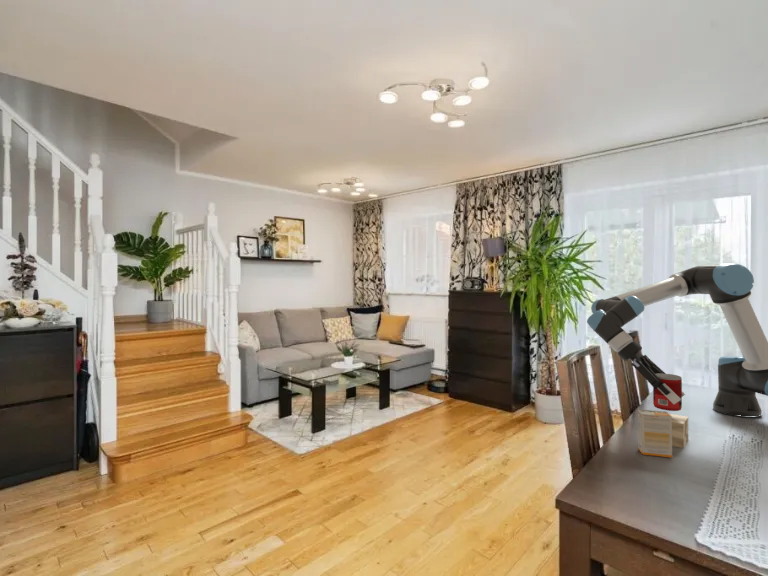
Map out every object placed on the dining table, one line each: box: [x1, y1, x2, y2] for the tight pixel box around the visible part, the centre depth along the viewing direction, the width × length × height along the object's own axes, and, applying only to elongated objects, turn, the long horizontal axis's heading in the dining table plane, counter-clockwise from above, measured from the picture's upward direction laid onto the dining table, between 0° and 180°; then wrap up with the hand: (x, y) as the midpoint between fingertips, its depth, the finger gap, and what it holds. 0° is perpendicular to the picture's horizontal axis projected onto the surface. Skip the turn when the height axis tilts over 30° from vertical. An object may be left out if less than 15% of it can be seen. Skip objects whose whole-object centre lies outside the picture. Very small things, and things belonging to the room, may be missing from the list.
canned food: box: [652, 373, 683, 412], centre depth 139 cm, size 8×8×11 cm
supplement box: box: [637, 409, 673, 459], centre depth 128 cm, size 8×5×13 cm, turn 71°
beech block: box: [669, 413, 689, 449], centre depth 139 cm, size 10×10×8 cm
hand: (679, 399), depth 136 cm, fingers closed on canned food, 8 cm apart
